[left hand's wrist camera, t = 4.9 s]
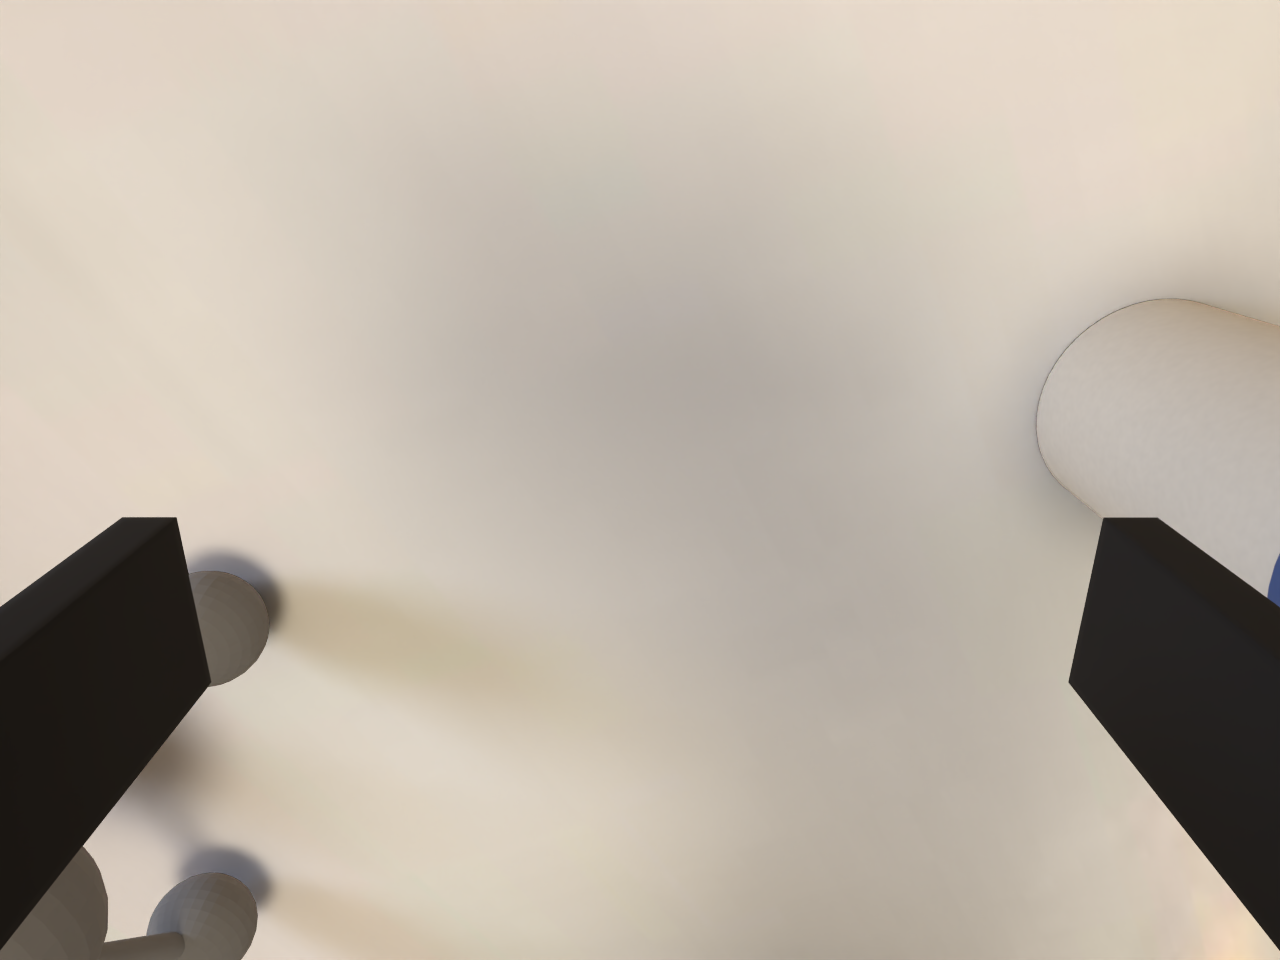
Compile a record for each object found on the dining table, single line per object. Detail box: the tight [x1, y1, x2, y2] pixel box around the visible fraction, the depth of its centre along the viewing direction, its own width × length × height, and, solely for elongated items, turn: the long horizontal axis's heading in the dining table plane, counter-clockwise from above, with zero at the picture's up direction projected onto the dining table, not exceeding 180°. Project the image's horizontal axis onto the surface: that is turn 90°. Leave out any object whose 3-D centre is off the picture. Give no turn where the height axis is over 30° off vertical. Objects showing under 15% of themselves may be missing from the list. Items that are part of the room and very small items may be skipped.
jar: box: [1036, 299, 1280, 597], centre depth 32 cm, size 10×10×18 cm
